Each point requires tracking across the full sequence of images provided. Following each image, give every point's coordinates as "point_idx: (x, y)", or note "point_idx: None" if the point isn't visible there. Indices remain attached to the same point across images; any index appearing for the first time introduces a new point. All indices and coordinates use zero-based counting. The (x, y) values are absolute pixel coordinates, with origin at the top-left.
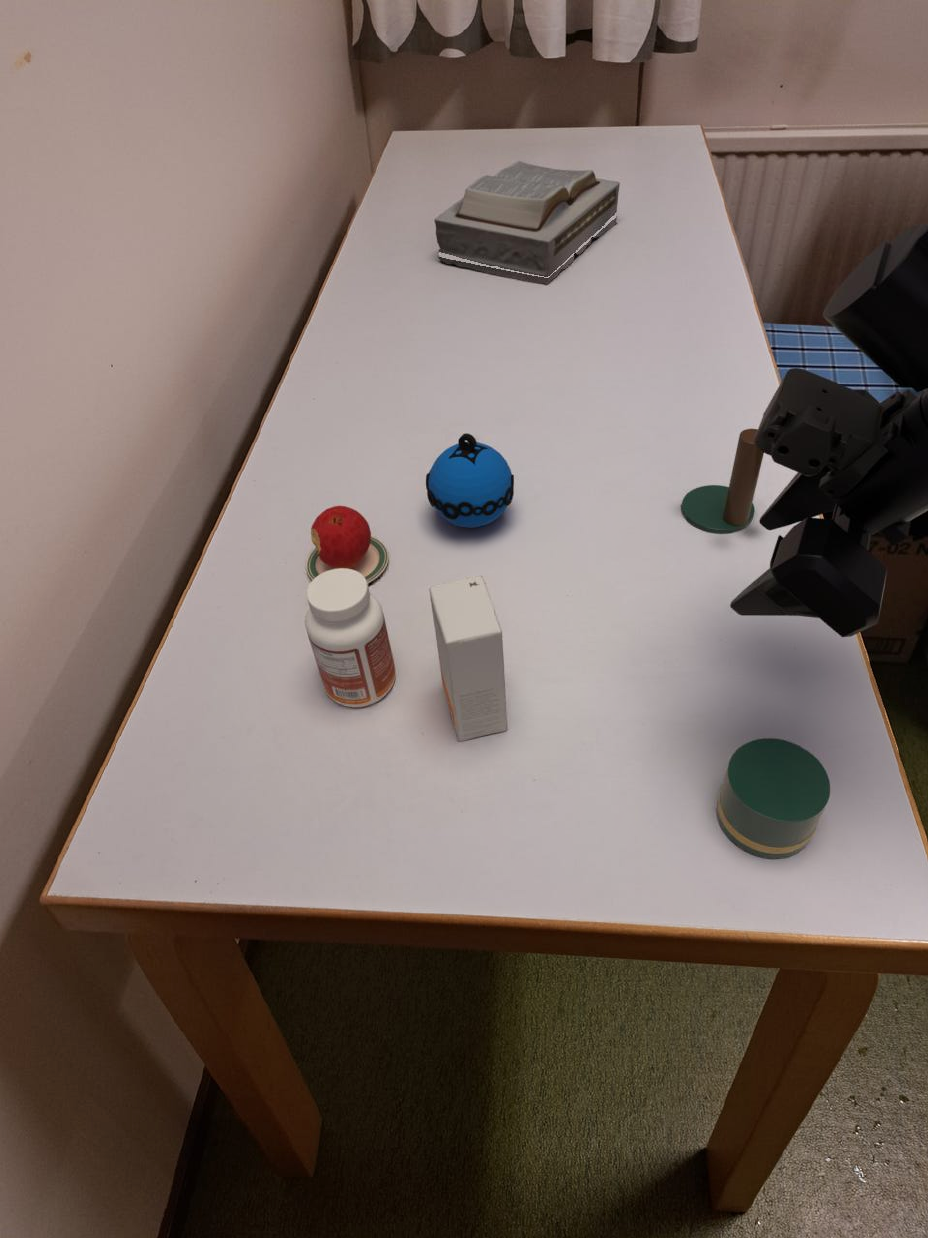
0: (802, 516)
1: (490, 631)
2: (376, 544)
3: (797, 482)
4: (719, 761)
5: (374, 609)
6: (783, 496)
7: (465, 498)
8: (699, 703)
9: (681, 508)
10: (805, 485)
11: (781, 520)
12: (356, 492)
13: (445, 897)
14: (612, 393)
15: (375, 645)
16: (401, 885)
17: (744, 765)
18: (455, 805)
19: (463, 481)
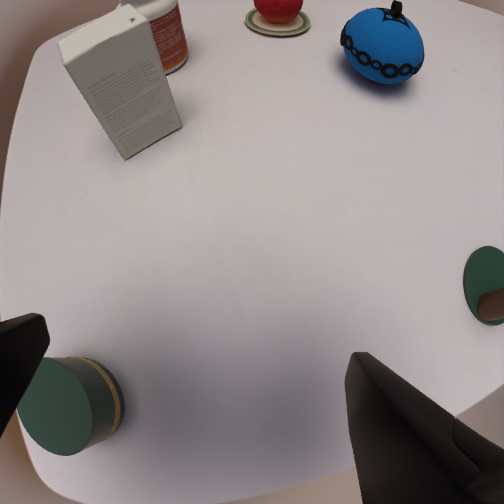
0: (360, 467)
1: (64, 57)
2: (303, 26)
3: (430, 464)
4: (129, 358)
5: (144, 8)
6: (394, 414)
7: (352, 34)
8: (198, 329)
9: (480, 248)
10: (420, 491)
11: (353, 411)
12: (353, 15)
13: (9, 180)
14: None
15: None
16: (17, 155)
17: (52, 374)
18: (61, 156)
19: (362, 22)
